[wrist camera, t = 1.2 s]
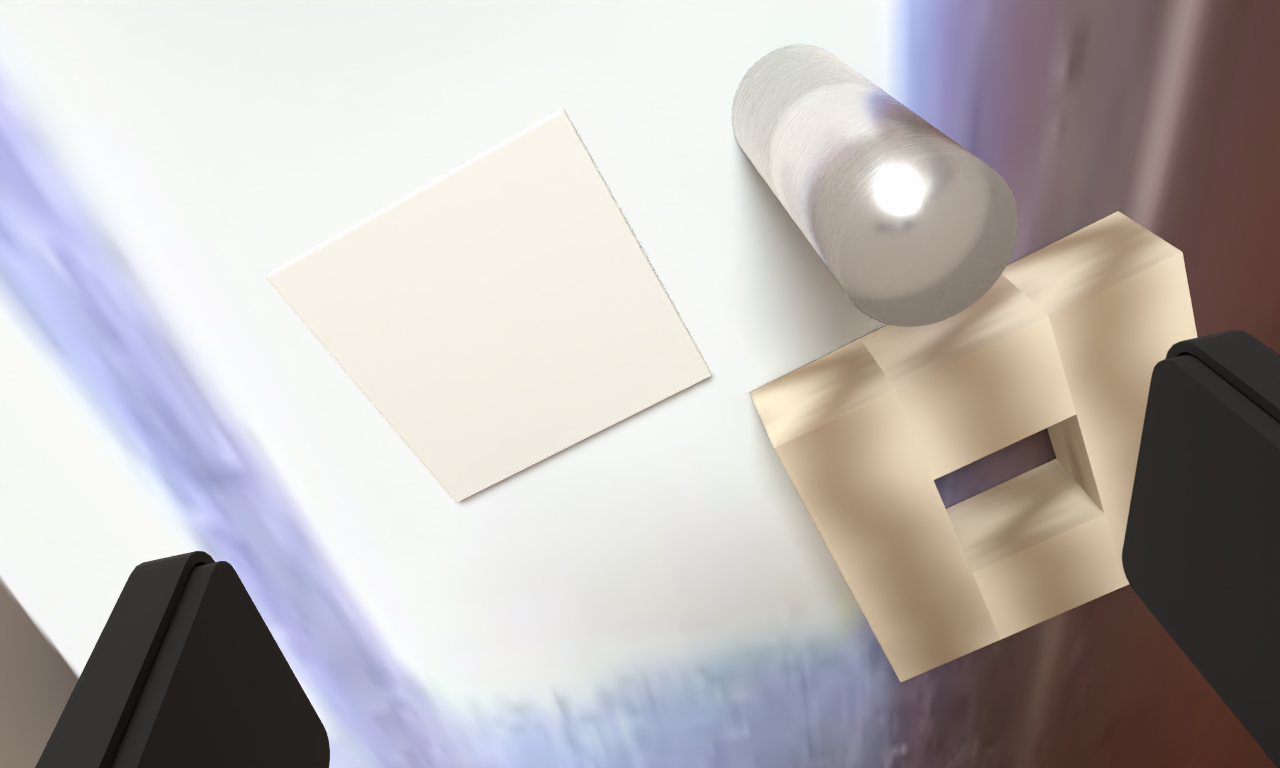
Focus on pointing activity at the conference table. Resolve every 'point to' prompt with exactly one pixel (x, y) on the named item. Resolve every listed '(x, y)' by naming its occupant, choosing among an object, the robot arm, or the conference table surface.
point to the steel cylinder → (875, 187)
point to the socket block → (987, 443)
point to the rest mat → (497, 310)
